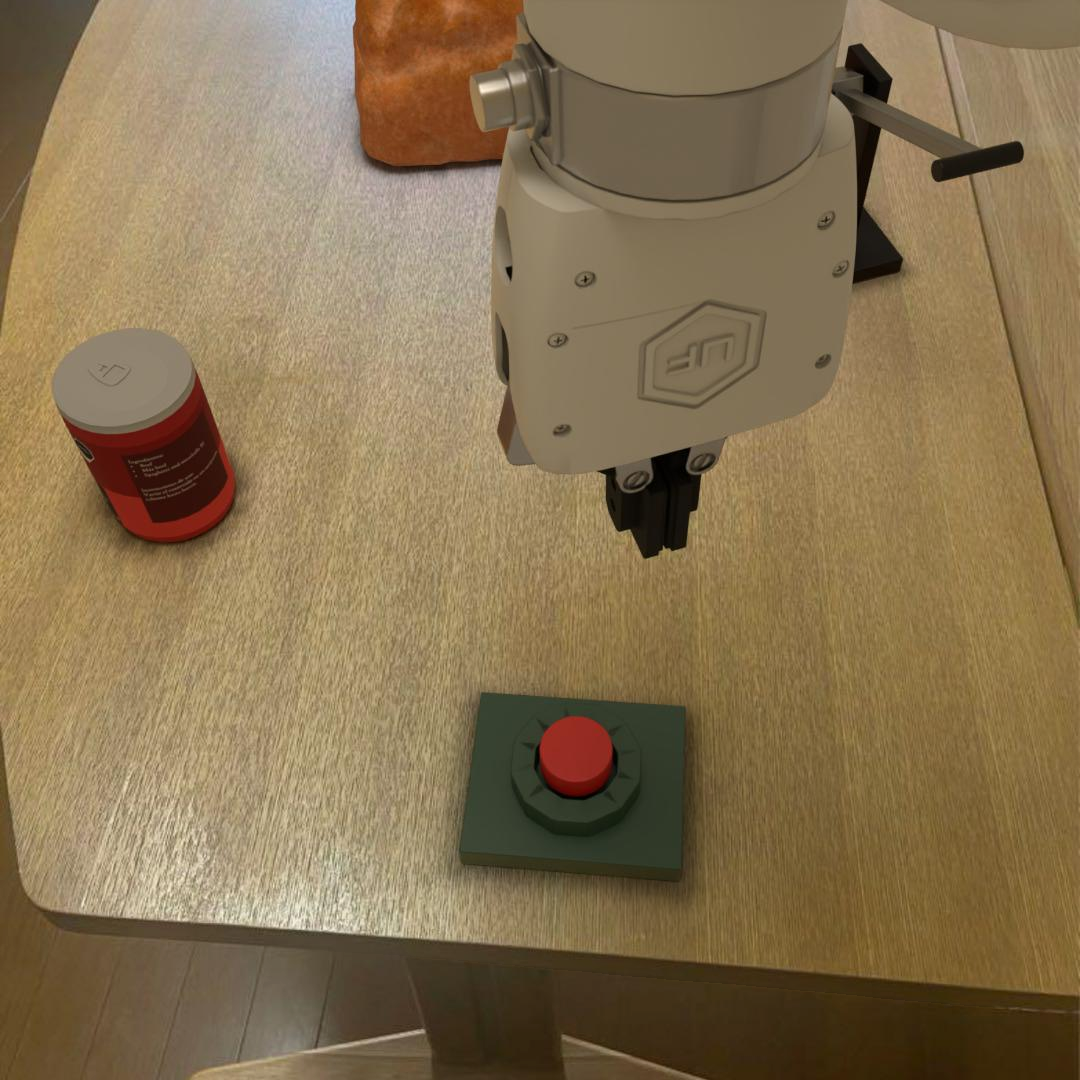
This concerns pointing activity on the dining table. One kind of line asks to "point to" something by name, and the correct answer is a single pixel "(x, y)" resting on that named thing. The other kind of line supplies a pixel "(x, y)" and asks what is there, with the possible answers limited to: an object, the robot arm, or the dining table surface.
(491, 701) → the button box
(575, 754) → the button
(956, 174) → the lever
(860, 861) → the dining table surface
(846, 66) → the bracket
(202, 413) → the canned food
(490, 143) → the bread
